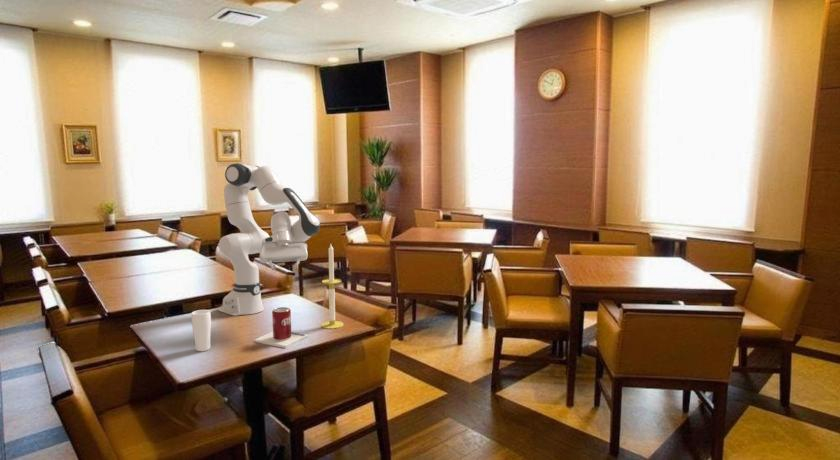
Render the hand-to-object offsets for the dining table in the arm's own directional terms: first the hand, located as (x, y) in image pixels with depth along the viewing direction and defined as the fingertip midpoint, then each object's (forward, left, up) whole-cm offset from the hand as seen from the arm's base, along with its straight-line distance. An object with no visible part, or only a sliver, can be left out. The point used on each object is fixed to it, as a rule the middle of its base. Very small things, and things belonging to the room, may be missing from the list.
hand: (285, 268), depth 207 cm
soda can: (+6, -10, -27) cm, 29 cm away
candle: (+14, +14, -28) cm, 34 cm away
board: (+6, -10, -27) cm, 30 cm away
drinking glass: (-14, -32, -28) cm, 44 cm away
